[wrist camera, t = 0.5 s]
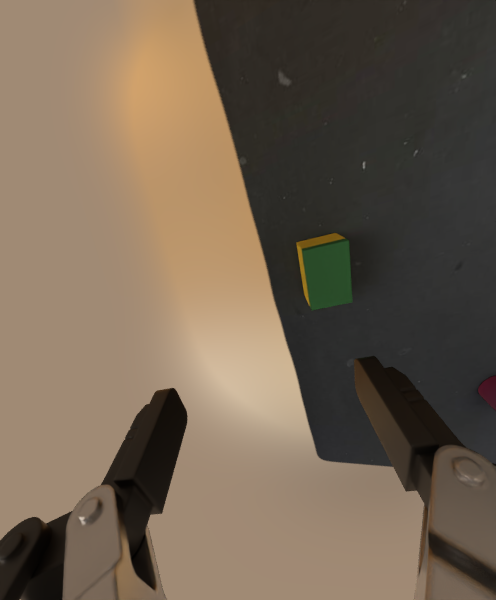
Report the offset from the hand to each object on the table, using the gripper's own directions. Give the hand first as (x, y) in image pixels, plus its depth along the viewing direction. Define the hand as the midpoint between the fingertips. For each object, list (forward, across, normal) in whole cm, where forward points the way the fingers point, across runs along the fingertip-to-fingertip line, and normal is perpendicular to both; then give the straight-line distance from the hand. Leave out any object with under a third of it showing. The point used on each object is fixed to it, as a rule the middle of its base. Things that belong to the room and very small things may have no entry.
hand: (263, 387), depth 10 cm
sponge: (+19, -7, +2) cm, 21 cm away
